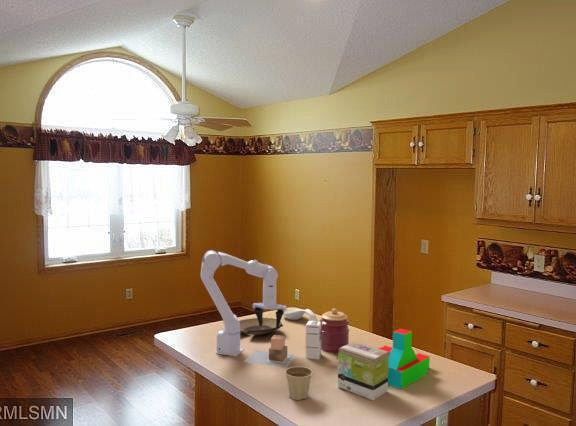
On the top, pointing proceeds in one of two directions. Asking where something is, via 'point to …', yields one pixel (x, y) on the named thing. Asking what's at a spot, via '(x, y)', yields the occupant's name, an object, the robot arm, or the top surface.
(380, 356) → the tea box
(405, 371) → the building blocks toy
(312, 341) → the syrup box
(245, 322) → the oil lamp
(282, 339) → the terracotta block
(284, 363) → the mat
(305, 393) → the flower pot
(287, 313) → the spoon rest
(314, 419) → the top surface
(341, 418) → the top surface
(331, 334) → the canister
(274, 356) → the walnut block
